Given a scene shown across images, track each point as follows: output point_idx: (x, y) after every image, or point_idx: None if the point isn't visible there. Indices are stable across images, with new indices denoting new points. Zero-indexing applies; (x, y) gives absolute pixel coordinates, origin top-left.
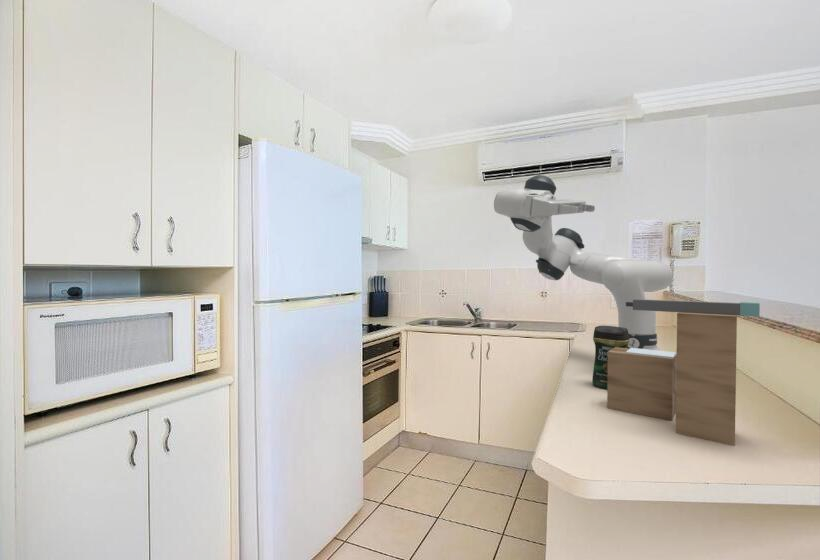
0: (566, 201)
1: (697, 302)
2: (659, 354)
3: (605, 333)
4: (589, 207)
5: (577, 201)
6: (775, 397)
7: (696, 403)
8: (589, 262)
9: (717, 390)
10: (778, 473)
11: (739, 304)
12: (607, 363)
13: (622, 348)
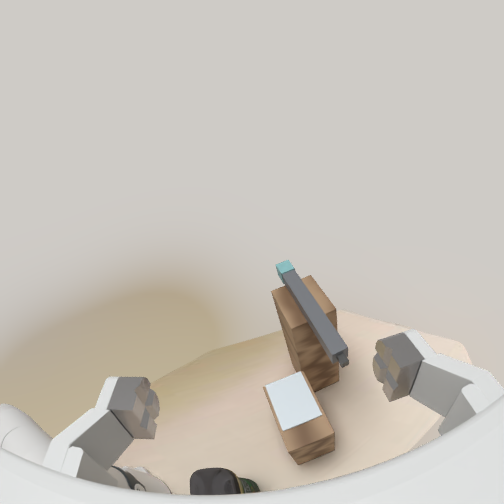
0: (364, 488)
1: (310, 293)
2: (298, 386)
3: (236, 490)
4: (141, 403)
5: (84, 483)
6: (151, 384)
7: None
8: None
9: None
10: (343, 320)
11: (294, 270)
12: (251, 491)
13: (288, 440)
